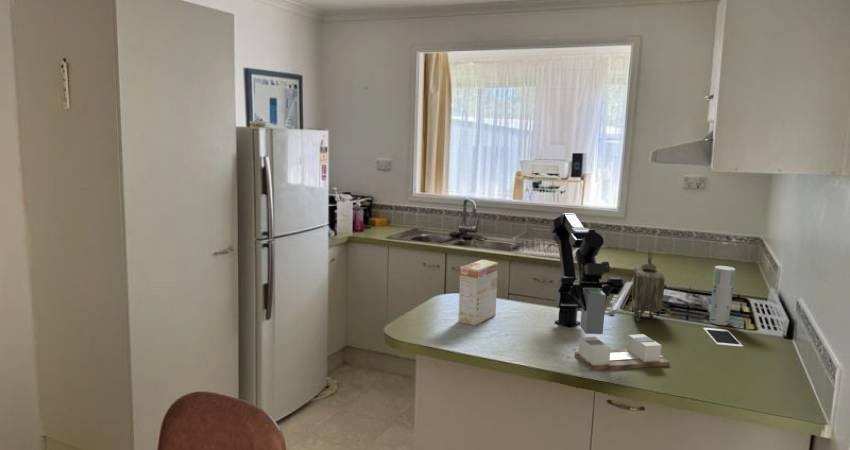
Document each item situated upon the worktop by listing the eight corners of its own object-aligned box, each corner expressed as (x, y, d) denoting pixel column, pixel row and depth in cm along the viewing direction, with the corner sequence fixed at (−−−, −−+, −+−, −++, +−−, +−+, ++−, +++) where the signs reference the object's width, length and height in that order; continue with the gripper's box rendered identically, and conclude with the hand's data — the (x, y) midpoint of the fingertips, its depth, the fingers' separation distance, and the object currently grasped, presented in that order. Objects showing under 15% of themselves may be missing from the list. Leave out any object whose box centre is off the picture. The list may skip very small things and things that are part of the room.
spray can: (730, 326, 204) (737, 270, 201) (709, 323, 206) (716, 268, 203) (727, 320, 211) (733, 266, 207) (707, 318, 213) (713, 264, 209)
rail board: (592, 370, 163) (593, 365, 163) (574, 355, 174) (575, 350, 173) (669, 365, 168) (669, 360, 168) (647, 351, 179) (647, 346, 178)
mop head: (630, 310, 219) (636, 245, 215) (656, 313, 217) (662, 247, 212) (633, 322, 205) (639, 253, 201) (660, 325, 203) (667, 255, 199)
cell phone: (727, 331, 201) (727, 329, 201) (743, 348, 185) (743, 346, 185) (702, 329, 202) (703, 327, 202) (717, 345, 186) (717, 343, 186)
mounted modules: (593, 365, 164) (594, 348, 163) (578, 353, 172) (579, 336, 172) (659, 360, 168) (661, 344, 168) (641, 349, 177) (643, 333, 176)
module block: (580, 326, 178) (583, 288, 176) (596, 327, 178) (599, 288, 176) (585, 333, 172) (589, 293, 170) (602, 334, 172) (606, 294, 170)
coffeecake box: (479, 311, 213) (481, 259, 210) (496, 315, 209) (499, 262, 206) (457, 321, 201) (459, 266, 198) (474, 326, 197) (477, 269, 194)
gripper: (562, 250, 175) (569, 297, 166) (624, 252, 175) (634, 298, 166) (554, 269, 184) (560, 314, 175) (613, 271, 184) (622, 316, 175)
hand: (594, 310), depth 173 cm, fingers closed on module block, 5 cm apart
